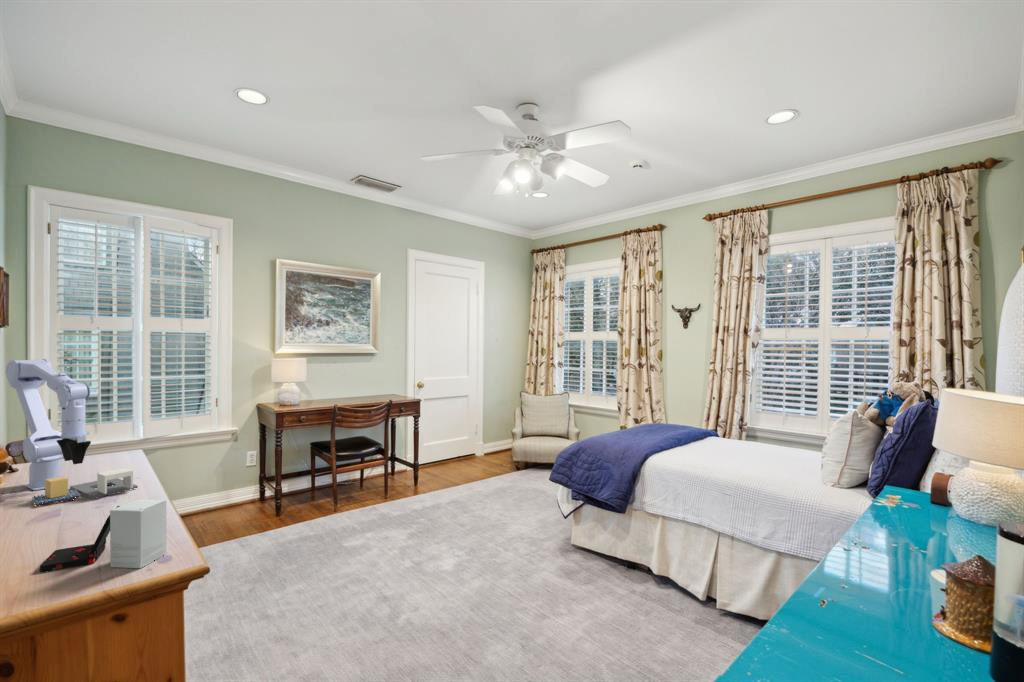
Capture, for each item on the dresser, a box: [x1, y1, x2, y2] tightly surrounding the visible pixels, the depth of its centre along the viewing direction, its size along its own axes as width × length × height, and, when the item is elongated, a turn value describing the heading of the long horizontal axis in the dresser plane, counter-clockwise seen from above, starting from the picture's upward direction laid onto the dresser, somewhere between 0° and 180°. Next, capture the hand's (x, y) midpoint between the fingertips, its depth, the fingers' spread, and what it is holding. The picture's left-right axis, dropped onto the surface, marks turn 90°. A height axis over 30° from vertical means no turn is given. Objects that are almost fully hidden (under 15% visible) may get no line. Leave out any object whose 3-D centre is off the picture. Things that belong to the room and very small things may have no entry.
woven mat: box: [31, 489, 82, 508], centre depth 146 cm, size 10×11×2 cm
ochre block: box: [44, 476, 69, 498], centre depth 145 cm, size 4×4×5 cm
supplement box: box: [109, 499, 168, 569], centre depth 106 cm, size 7×7×13 cm
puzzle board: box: [69, 478, 138, 500], centre depth 156 cm, size 18×12×1 cm, turn 58°
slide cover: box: [96, 467, 134, 494], centre depth 152 cm, size 6×7×6 cm
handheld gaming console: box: [39, 505, 121, 573], centre depth 107 cm, size 9×12×10 cm
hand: (73, 461), depth 154 cm, fingers open, 7 cm apart
